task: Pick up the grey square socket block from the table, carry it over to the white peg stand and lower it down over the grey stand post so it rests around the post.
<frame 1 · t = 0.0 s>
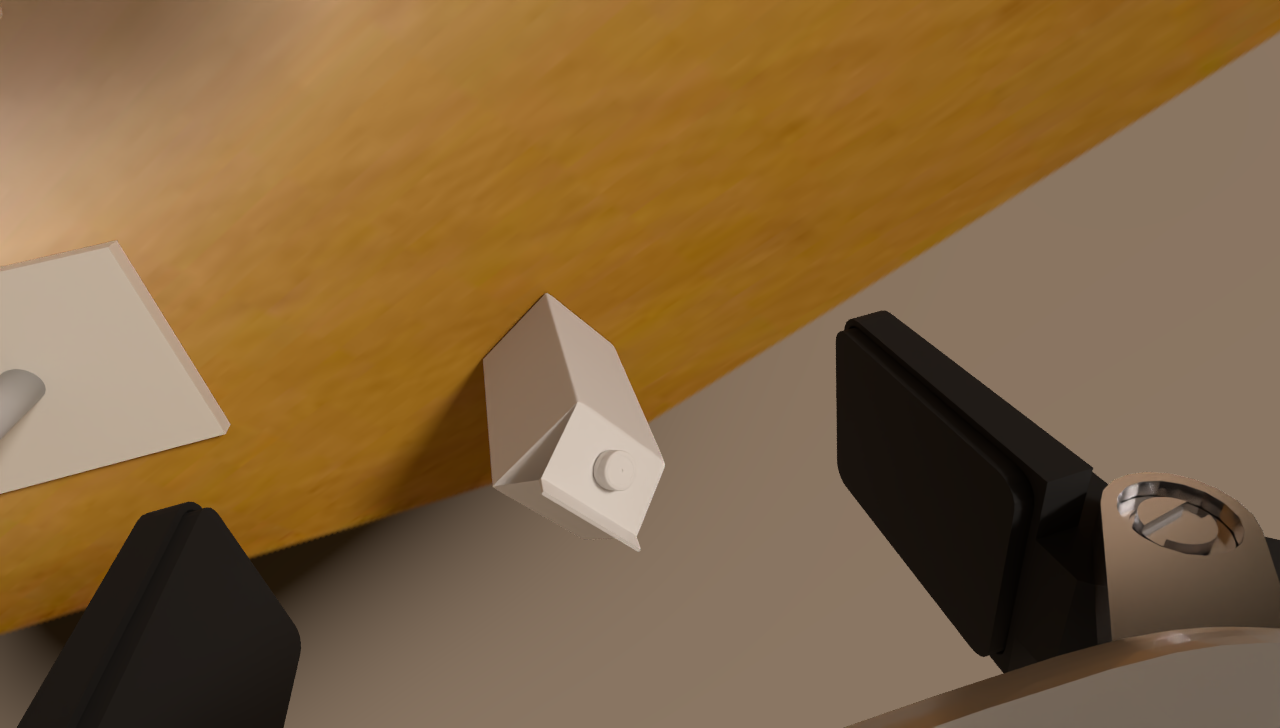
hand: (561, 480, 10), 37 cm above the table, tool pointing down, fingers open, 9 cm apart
white peg stand: (32, 376, 43), on the table
milk carton: (549, 350, 51), on the table
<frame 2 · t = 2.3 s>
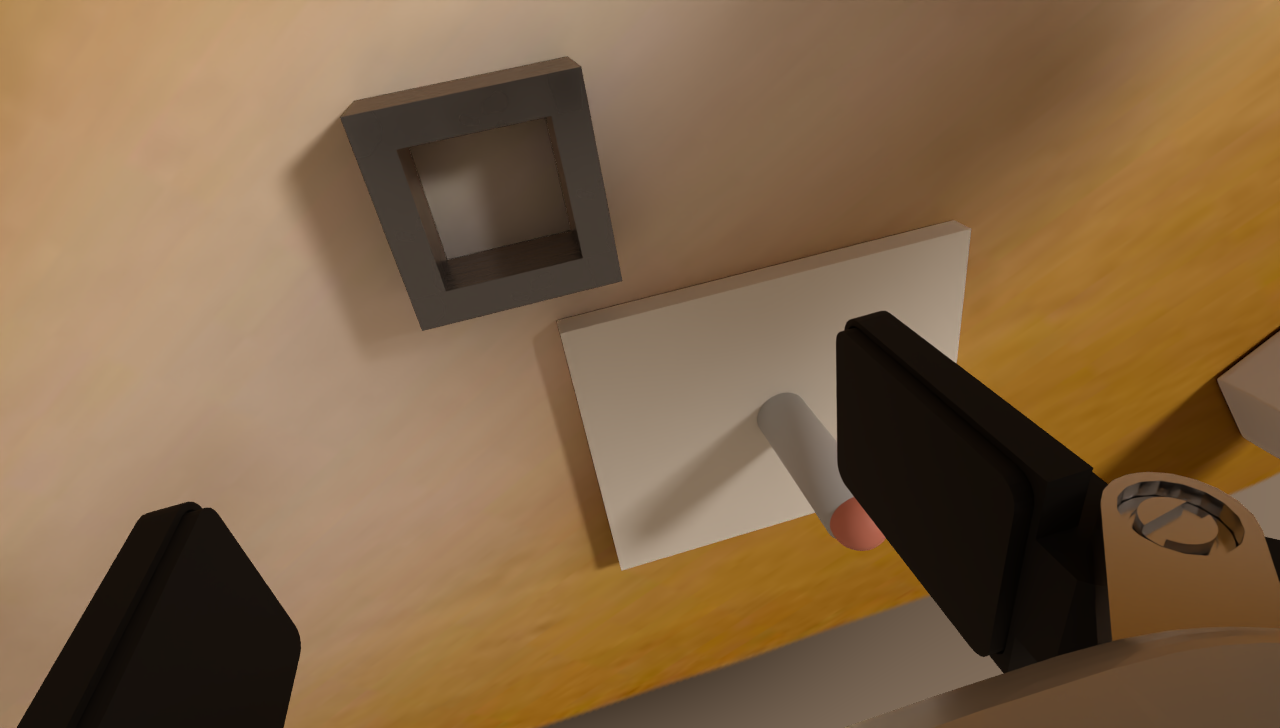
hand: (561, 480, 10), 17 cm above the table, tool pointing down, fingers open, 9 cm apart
grey square socket block: (492, 183, 24), on the table
white peg stand: (771, 400, 32), on the table
milk carton: (1276, 367, 40), on the table
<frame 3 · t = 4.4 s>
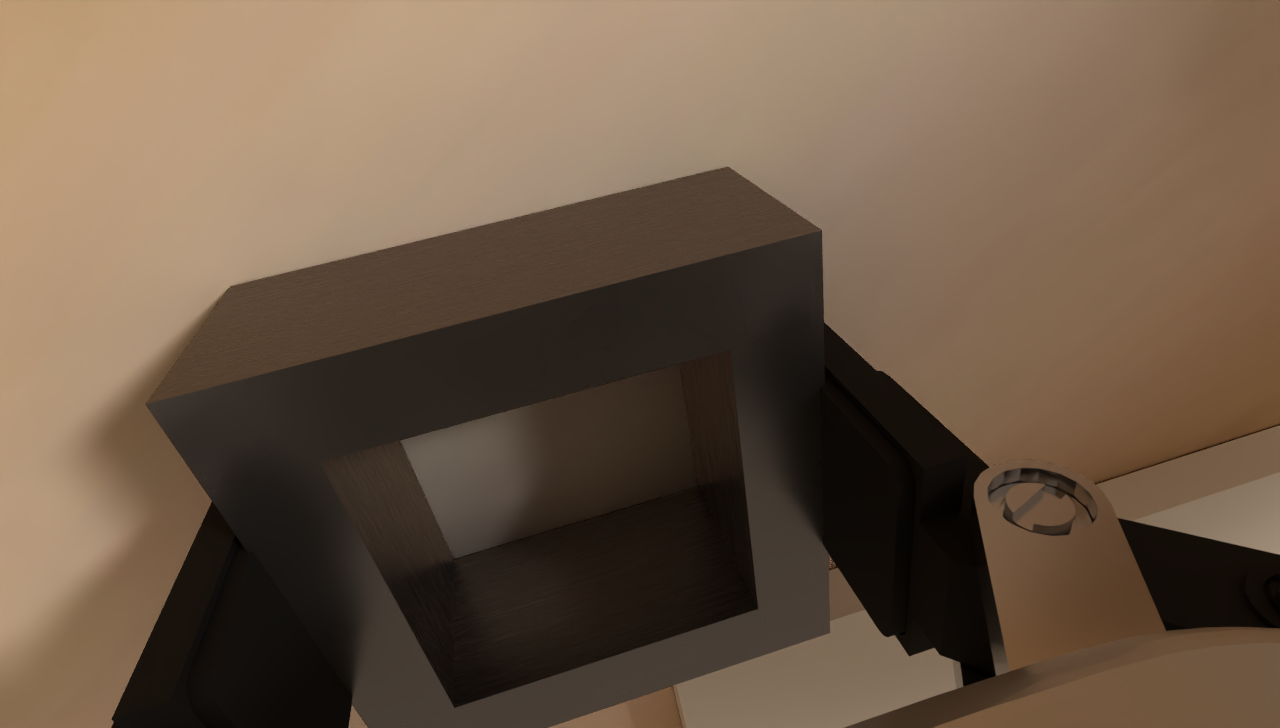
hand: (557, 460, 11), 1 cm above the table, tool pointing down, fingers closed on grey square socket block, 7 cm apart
grey square socket block: (549, 422, 11), on the table, touching gripper
white peg stand: (989, 681, 19), on the table
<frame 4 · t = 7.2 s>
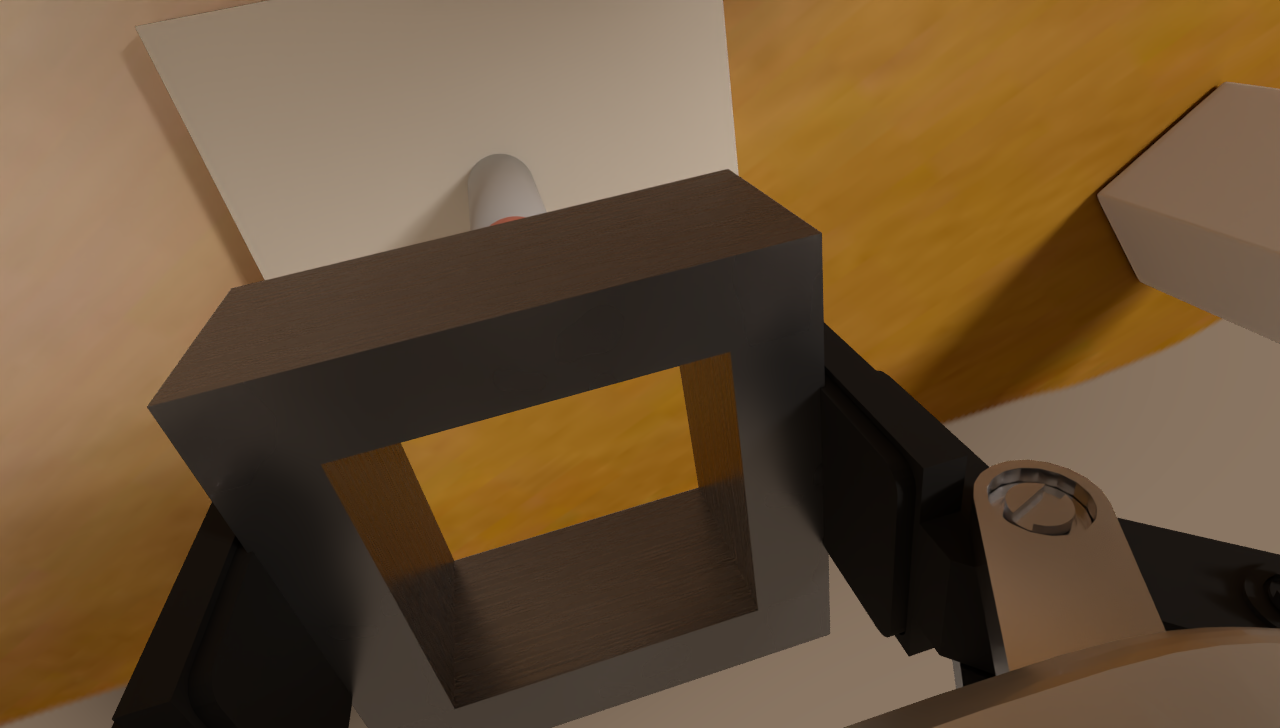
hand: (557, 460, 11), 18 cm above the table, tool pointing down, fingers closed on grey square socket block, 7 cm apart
grey square socket block: (549, 424, 11), point 16 cm above the table, touching gripper
white peg stand: (499, 179, 25), on the table
milk carton: (1172, 187, 33), on the table
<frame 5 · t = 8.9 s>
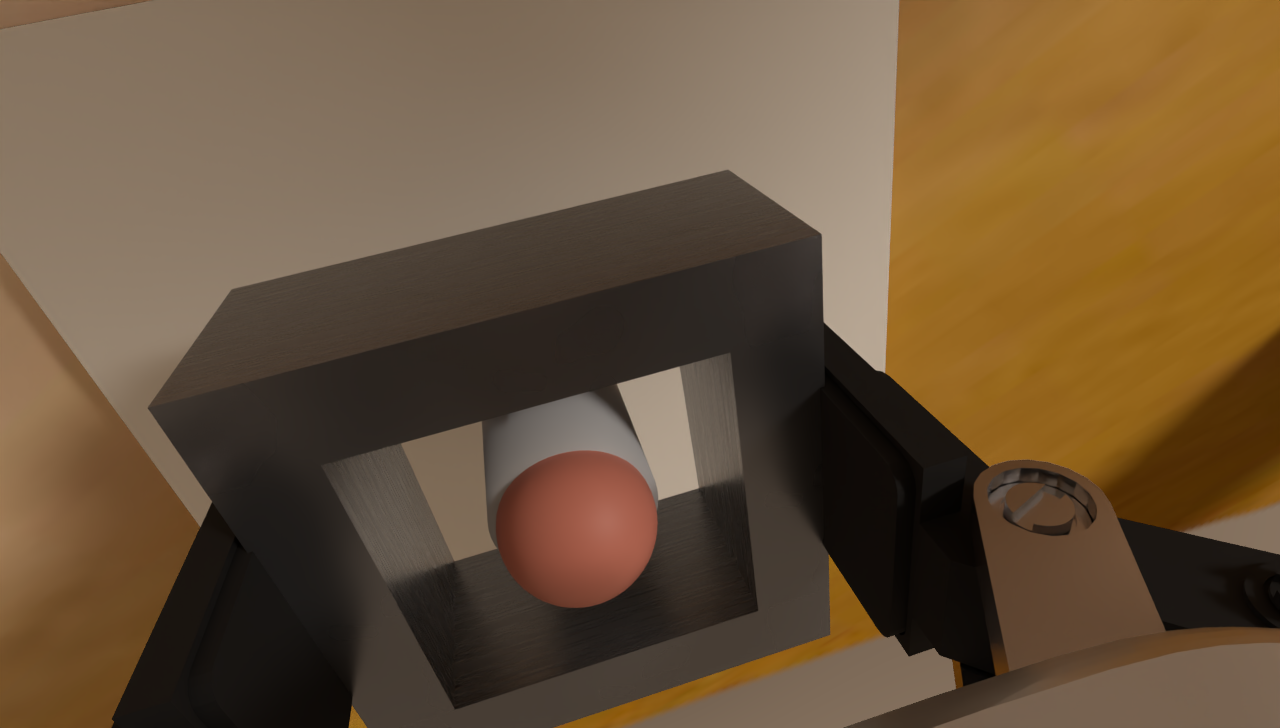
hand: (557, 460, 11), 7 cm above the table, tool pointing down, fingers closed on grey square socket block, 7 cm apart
grey square socket block: (549, 424, 11), point 6 cm above the table, touching gripper
white peg stand: (524, 284, 16), on the table
when the fingers open (4 cm above the table, at t = 10.0 s): grey square socket block drops 2 cm, resting on white peg stand.
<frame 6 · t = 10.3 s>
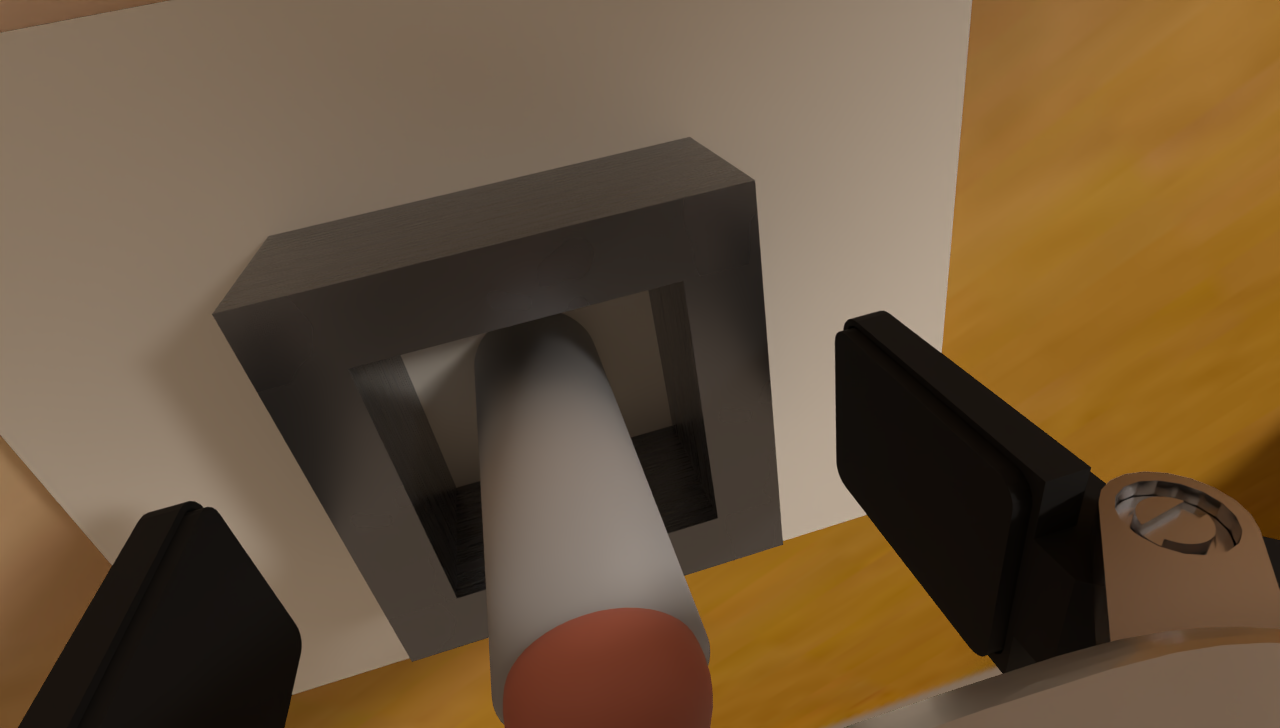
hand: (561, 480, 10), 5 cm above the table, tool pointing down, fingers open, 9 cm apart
grey square socket block: (539, 363, 13), point 1 cm above the table, touching white peg stand
white peg stand: (531, 337, 14), on the table
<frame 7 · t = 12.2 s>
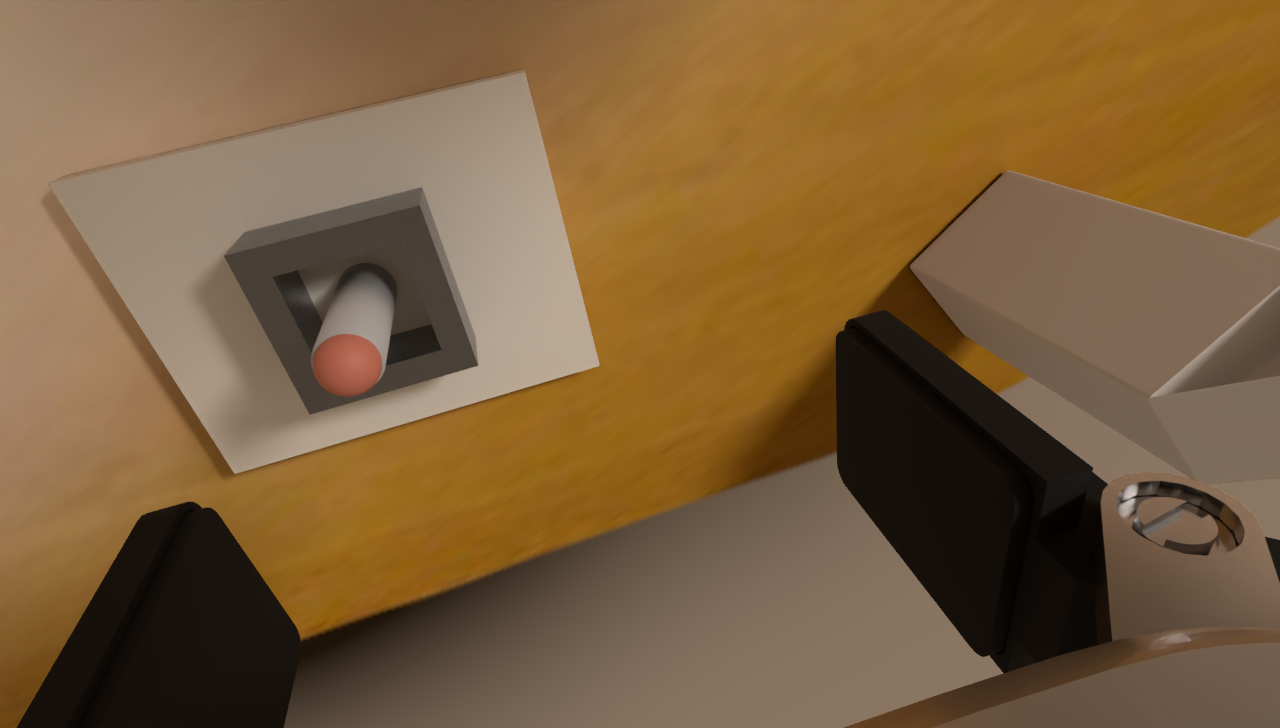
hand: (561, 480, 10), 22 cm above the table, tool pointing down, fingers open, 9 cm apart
grey square socket block: (369, 288, 29), point 1 cm above the table, touching white peg stand
white peg stand: (370, 279, 30), on the table
milk carton: (980, 255, 39), on the table
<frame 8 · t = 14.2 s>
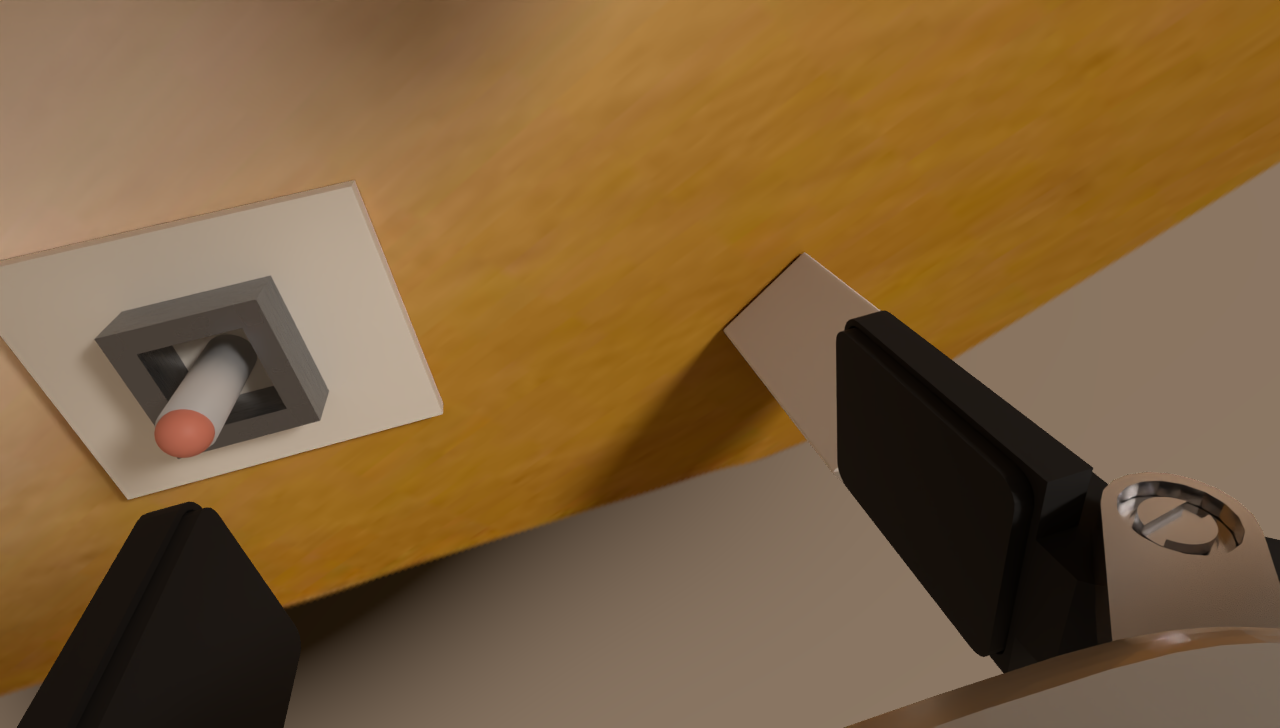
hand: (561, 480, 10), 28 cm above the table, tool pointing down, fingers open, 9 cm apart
grey square socket block: (232, 353, 35), point 1 cm above the table, touching white peg stand
white peg stand: (237, 344, 36), on the table
milk carton: (791, 320, 44), on the table
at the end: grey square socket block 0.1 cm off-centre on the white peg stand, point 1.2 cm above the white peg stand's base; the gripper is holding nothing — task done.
